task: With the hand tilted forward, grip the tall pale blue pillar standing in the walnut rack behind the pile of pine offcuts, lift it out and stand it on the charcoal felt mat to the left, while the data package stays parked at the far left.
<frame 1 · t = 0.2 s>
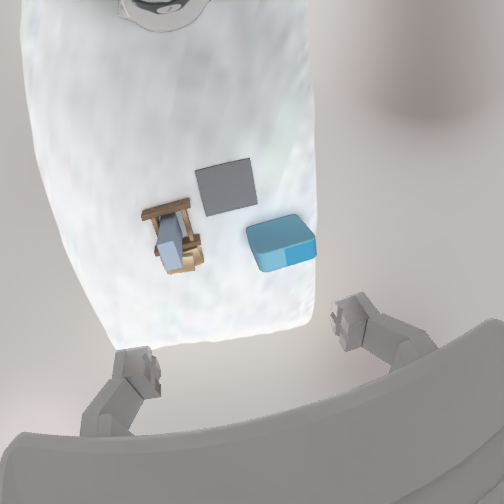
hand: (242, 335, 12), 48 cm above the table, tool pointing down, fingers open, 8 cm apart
pale blue pillar: (171, 224, 59), resting in rack
rack: (171, 224, 59), on the table
felt mat: (227, 187, 58), on the table
offcut stack: (181, 254, 63), on the table
data package: (272, 228, 65), on the table
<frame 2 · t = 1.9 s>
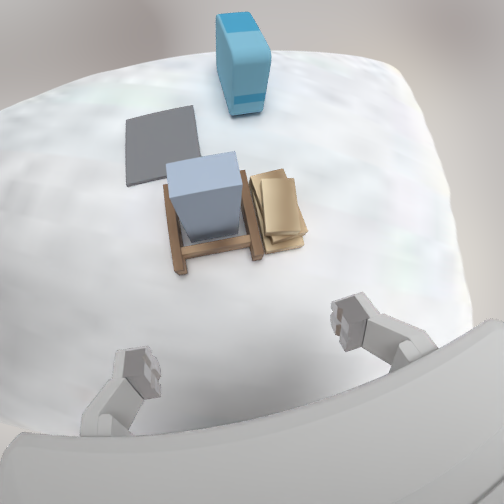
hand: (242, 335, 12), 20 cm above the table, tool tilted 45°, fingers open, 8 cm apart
pale blue pillar: (212, 225, 34), resting in rack
rack: (212, 225, 34), on the table
felt mat: (161, 143, 36), on the table
offcut stack: (274, 214, 35), on the table
data package: (237, 90, 39), on the table
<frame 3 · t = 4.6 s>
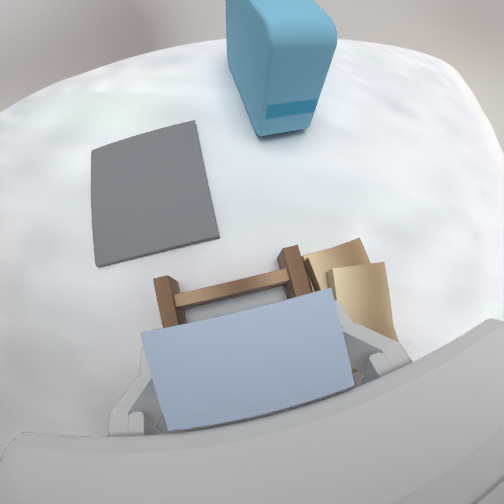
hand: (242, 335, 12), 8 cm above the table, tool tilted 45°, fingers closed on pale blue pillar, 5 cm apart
pale blue pillar: (243, 337, 20), resting in rack, touching gripper
rack: (243, 337, 20), on the table
felt mat: (147, 189, 22), on the table
offcut stack: (341, 310, 21), on the table
data package: (263, 94, 25), on the table
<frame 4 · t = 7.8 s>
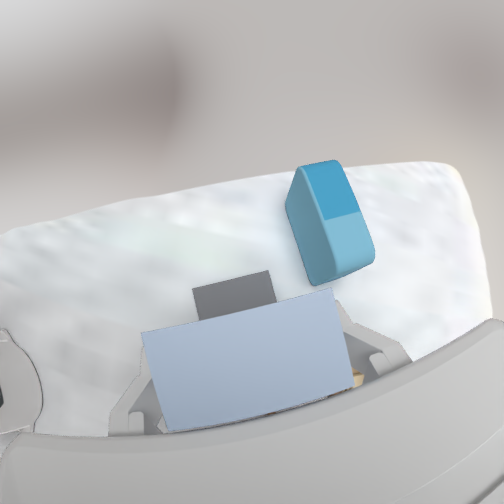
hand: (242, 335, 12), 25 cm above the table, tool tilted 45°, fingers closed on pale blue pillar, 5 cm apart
pale blue pillar: (243, 337, 20), point 17 cm above the table, touching gripper
felt mat: (240, 321, 36), on the table
data package: (312, 241, 39), on the table
when the fingers open (10 cm above the table, at t = 11.4 s): pale blue pillar stays where it is, resting on felt mat.
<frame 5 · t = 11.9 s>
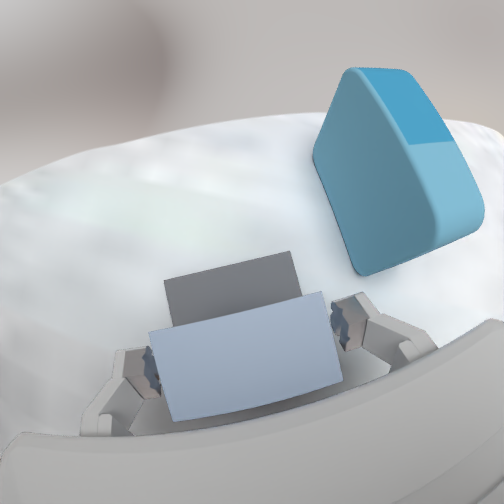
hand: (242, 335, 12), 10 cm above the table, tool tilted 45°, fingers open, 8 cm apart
pale blue pillar: (243, 336, 21), point 1 cm above the table, touching felt mat
felt mat: (243, 336, 21), on the table
data package: (354, 208, 25), on the table
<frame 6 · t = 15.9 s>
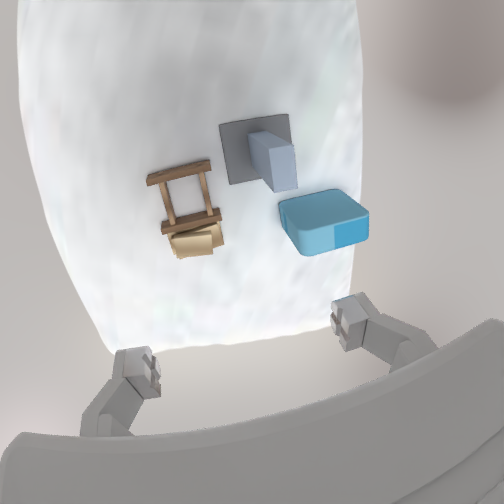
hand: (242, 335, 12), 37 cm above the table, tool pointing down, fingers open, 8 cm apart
pale blue pillar: (259, 148, 44), point 1 cm above the table, touching felt mat
rack: (184, 194, 46), on the table
felt mat: (258, 148, 44), on the table
offcut stack: (195, 233, 50), on the table
data package: (309, 205, 52), on the table
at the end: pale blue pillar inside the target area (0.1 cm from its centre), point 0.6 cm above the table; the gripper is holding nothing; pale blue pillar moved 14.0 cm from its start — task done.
